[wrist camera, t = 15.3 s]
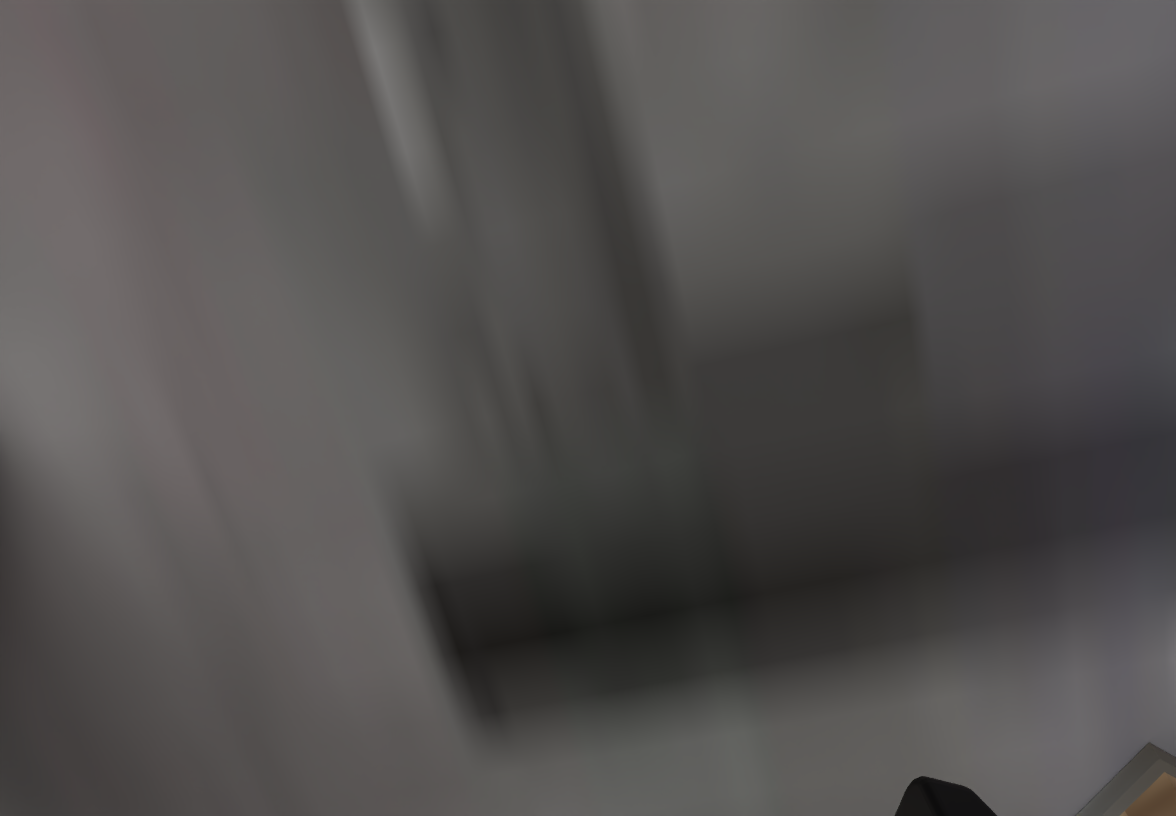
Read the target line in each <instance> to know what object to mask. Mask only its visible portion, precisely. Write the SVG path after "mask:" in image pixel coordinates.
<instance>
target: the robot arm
mask: <svg viewBox="0 0 1176 816" xmlns="http://www.w3.org/2000/svg"><path fill="white" fill-rule="evenodd" d="M895 816H997V815H996V814H995V813H994V812H993V811H992V810H991V809H990V808H989V807H988V806H987V805H986V804H985V803H984V802H983V801H982V800H981V799H980V798H979V797H978V796H977V795H976V794H975V793H974V792H973V791H972V790H971V789H969V788H967V787H965V786H962V785H958V784H954V783H950V782H946V781H942V780H938V779H934V778H929V777H925V776H921V777H919V778H916V779H914V780H913V781H912V782H911V783H910V785H909V786H908V787H907V789H906V791H905V793H904V796H903V798H902V800H901V803H900V805H899V807H898V809H897V812H896V814H895Z"/></svg>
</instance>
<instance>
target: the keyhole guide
mask: <svg viewBox="0 0 1176 816" xmlns="http://www.w3.org/2000/svg"><path fill="white" fill-rule="evenodd" d="M1076 816H1176V757H1174V756H1172V755H1170V754H1168V753H1167V752H1165V751H1163V750H1161V749H1160V748H1158V747H1156V746H1154V745H1153V744H1151V743H1148V744H1147V745H1146V746H1145V747H1144V748H1143V749H1142V750H1141V751H1140V752H1139V753H1138V754H1137V755H1136V756H1135V757H1134V758H1133V759H1132V760H1131V761H1130V762H1129V763H1128V764H1127V765H1126V766H1125V767H1124V768H1123V769H1122V770H1121V771H1120V772H1119V773H1118V774H1117V775H1116V776H1115V777H1114V778H1113V779H1112V780H1111V781H1110V782H1109V783H1108V784H1107V785H1106V786H1105V787H1104V788H1103V789H1102V790H1101V791H1100V792H1099V793H1098V794H1097V795H1096V796H1095V797H1094V798H1093V799H1092V800H1091V801H1090V802H1089V803H1088V804H1087V805H1086V806H1085V807H1084V808H1083V809H1082V810H1081V811H1080V812H1079V813H1078V814H1077V815H1076Z"/></svg>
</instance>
